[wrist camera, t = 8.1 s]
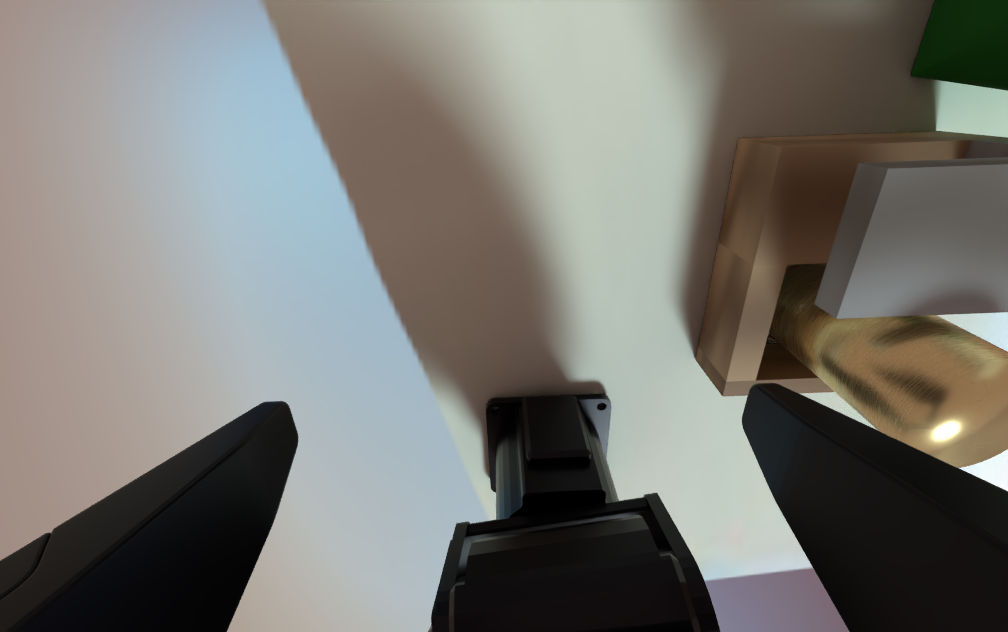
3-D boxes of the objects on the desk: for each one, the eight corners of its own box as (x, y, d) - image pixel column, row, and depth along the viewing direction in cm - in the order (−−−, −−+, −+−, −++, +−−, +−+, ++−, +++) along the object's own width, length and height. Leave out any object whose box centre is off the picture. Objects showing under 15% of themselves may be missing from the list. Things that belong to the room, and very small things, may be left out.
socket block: (852, 353, 23) (1005, 467, 16) (695, 359, 23) (782, 475, 16) (937, 131, 18) (1207, 156, 11) (738, 138, 18) (888, 168, 11)
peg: (847, 250, 20) (1081, 358, 12) (821, 328, 22) (1009, 466, 14) (758, 254, 20) (935, 364, 12) (740, 331, 22) (882, 472, 14)
